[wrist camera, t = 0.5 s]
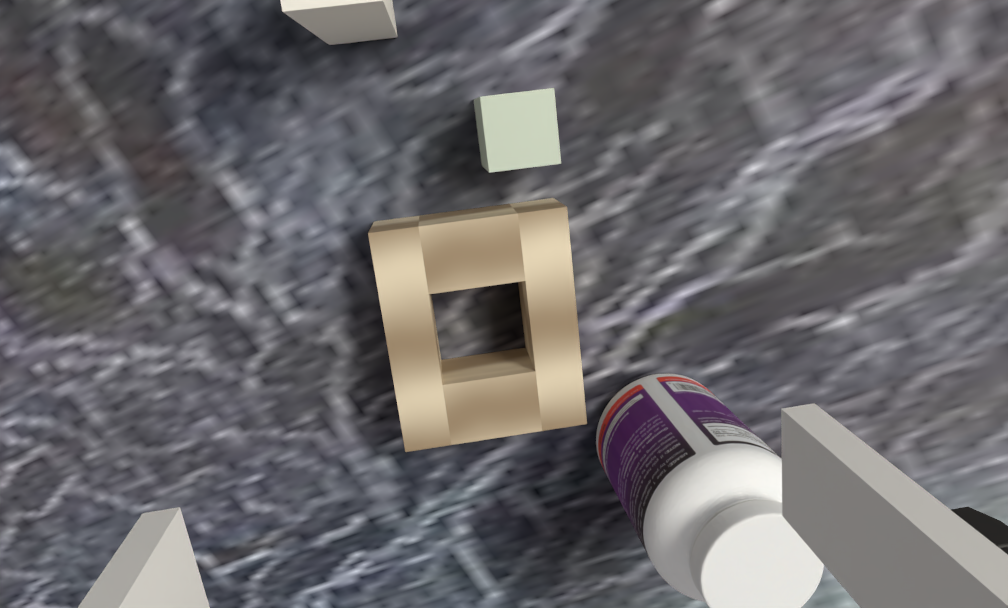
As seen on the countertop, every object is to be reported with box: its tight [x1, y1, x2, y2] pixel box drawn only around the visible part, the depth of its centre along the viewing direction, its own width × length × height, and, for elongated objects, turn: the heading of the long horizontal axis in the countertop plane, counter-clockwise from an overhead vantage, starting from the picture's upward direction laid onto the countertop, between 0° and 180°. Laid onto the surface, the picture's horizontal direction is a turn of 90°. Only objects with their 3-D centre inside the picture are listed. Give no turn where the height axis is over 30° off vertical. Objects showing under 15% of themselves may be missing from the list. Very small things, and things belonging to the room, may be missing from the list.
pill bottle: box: [596, 374, 824, 608], centre depth 37 cm, size 8×8×14 cm
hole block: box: [368, 198, 587, 452], centre depth 38 cm, size 12×10×4 cm
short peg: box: [474, 88, 561, 173], centre depth 36 cm, size 4×4×5 cm
